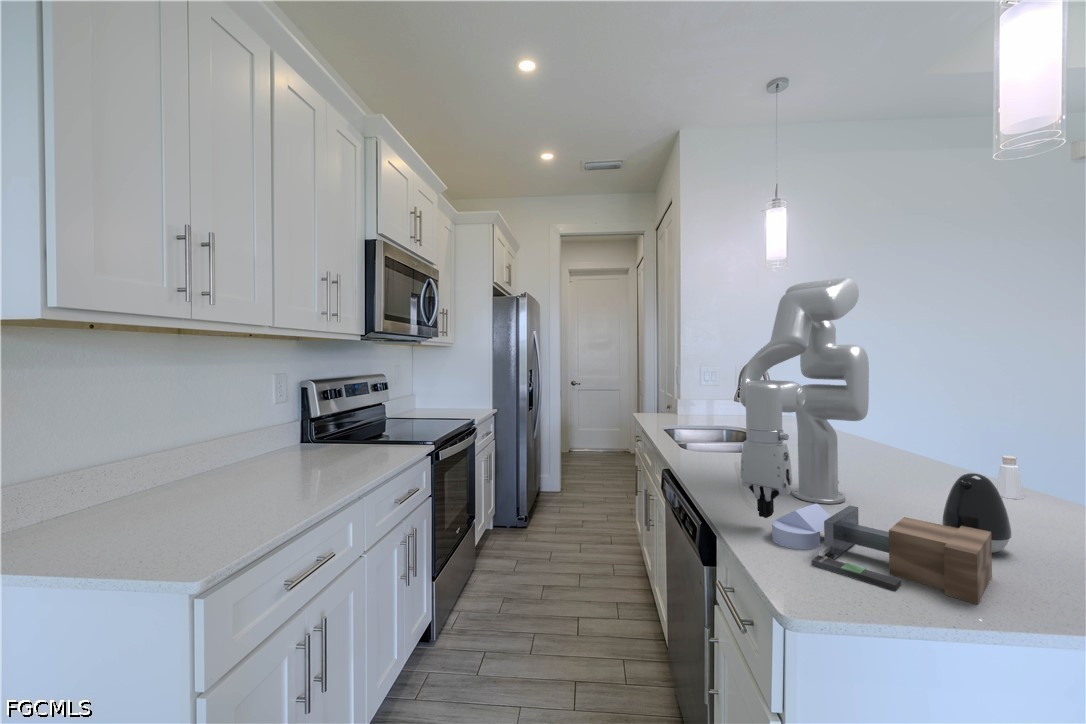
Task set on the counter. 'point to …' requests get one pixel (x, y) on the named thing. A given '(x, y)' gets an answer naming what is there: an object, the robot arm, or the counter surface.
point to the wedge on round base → (800, 528)
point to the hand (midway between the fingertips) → (765, 515)
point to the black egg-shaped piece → (978, 508)
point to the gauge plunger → (850, 534)
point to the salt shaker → (1009, 479)
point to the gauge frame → (930, 559)
